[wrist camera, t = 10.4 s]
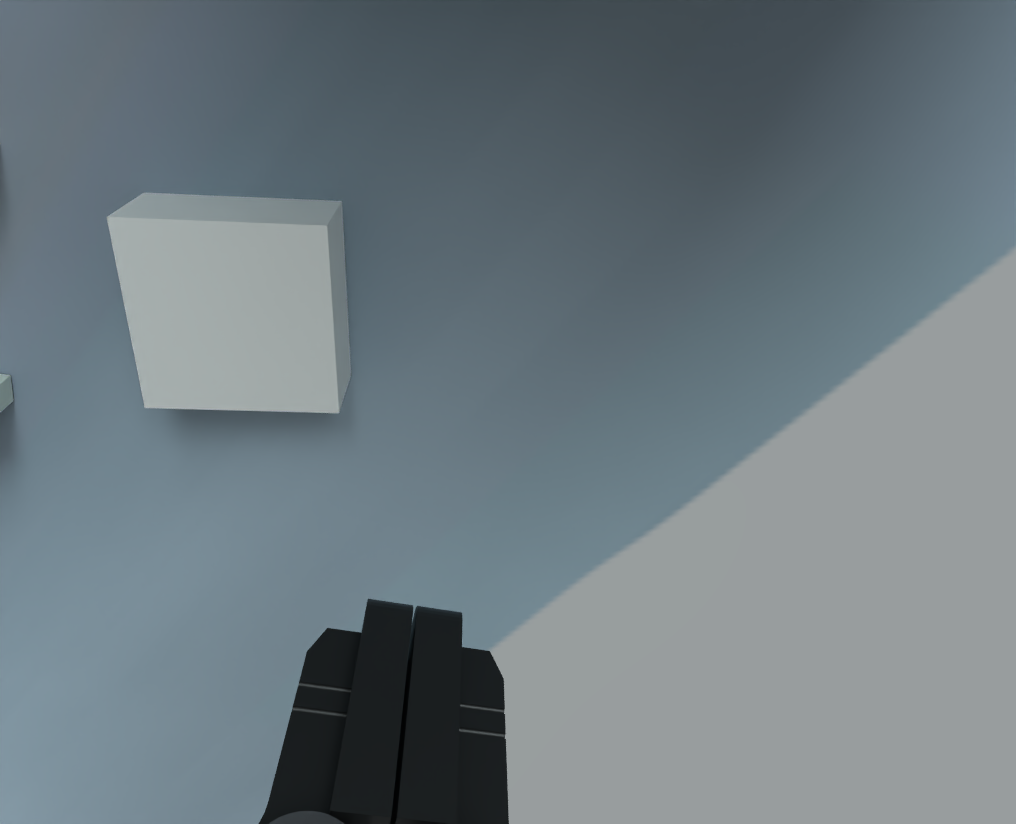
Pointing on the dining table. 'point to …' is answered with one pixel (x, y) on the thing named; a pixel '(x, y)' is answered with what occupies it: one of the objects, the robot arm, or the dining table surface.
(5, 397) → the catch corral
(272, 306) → the pale grey tile
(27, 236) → the dining table surface
